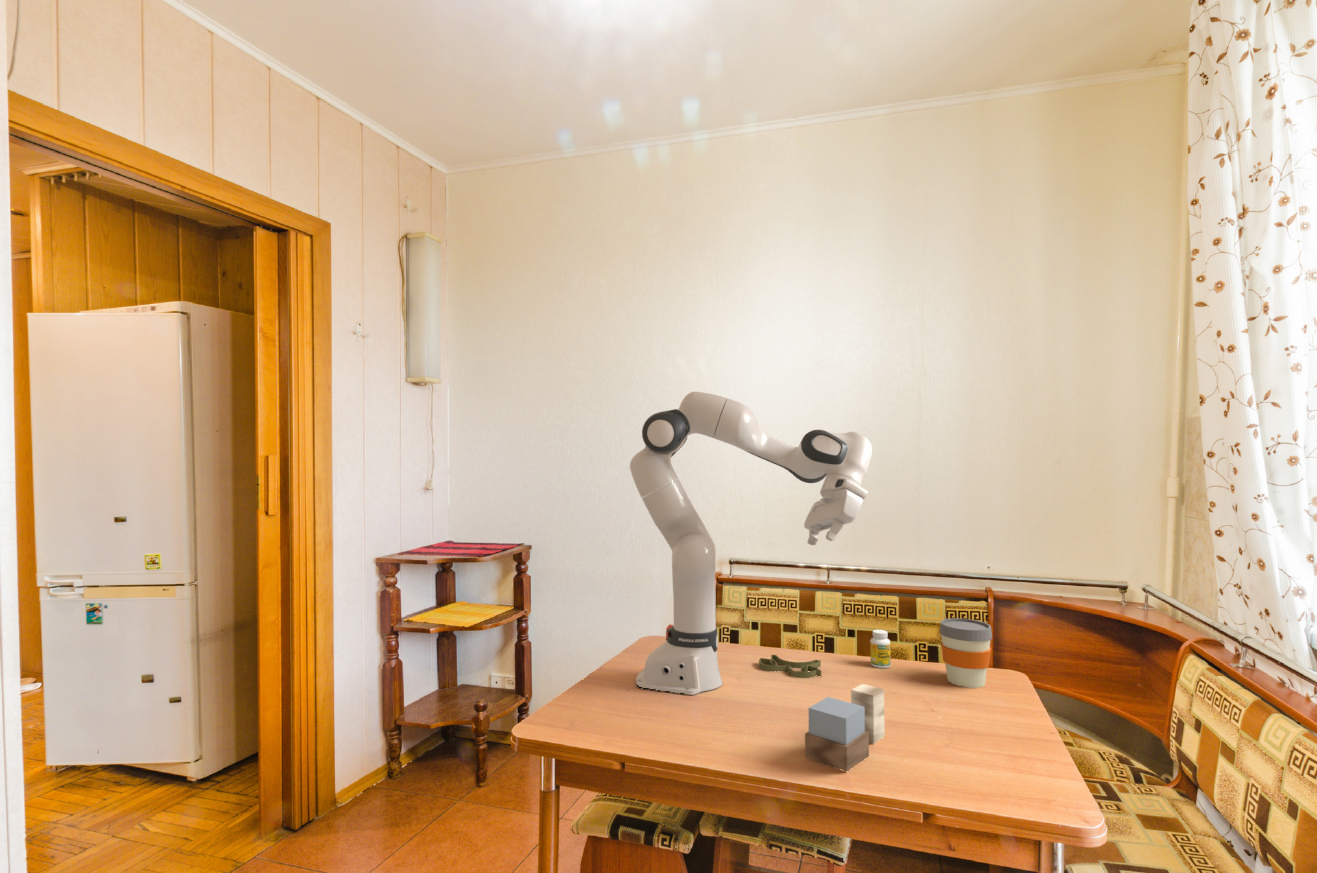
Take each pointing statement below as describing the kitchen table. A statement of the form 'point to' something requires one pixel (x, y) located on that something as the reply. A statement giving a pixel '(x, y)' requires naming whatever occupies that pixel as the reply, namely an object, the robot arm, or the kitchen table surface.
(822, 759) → the walnut base block
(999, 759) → the kitchen table surface
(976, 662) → the reusable coffee cup
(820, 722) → the slate-blue top block
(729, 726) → the kitchen table surface
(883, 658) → the supplement bottle
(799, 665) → the cookie cutter
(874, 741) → the cream pillar block
